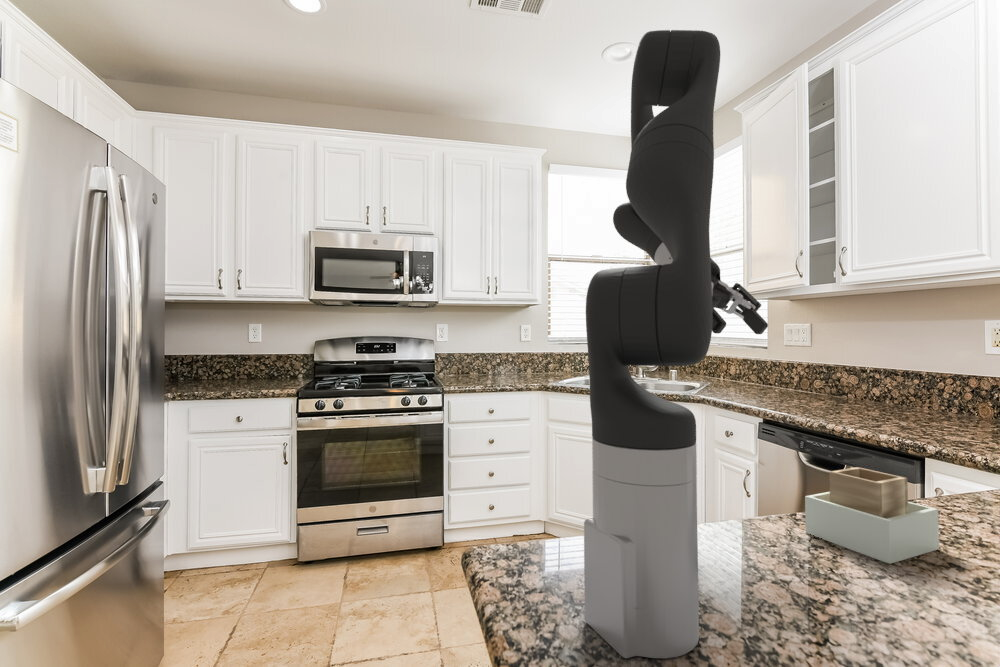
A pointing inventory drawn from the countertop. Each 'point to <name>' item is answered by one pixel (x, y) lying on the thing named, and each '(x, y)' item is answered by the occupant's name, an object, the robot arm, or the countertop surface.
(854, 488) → the birch crate
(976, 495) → the countertop surface
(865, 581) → the countertop surface
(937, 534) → the sage crate
